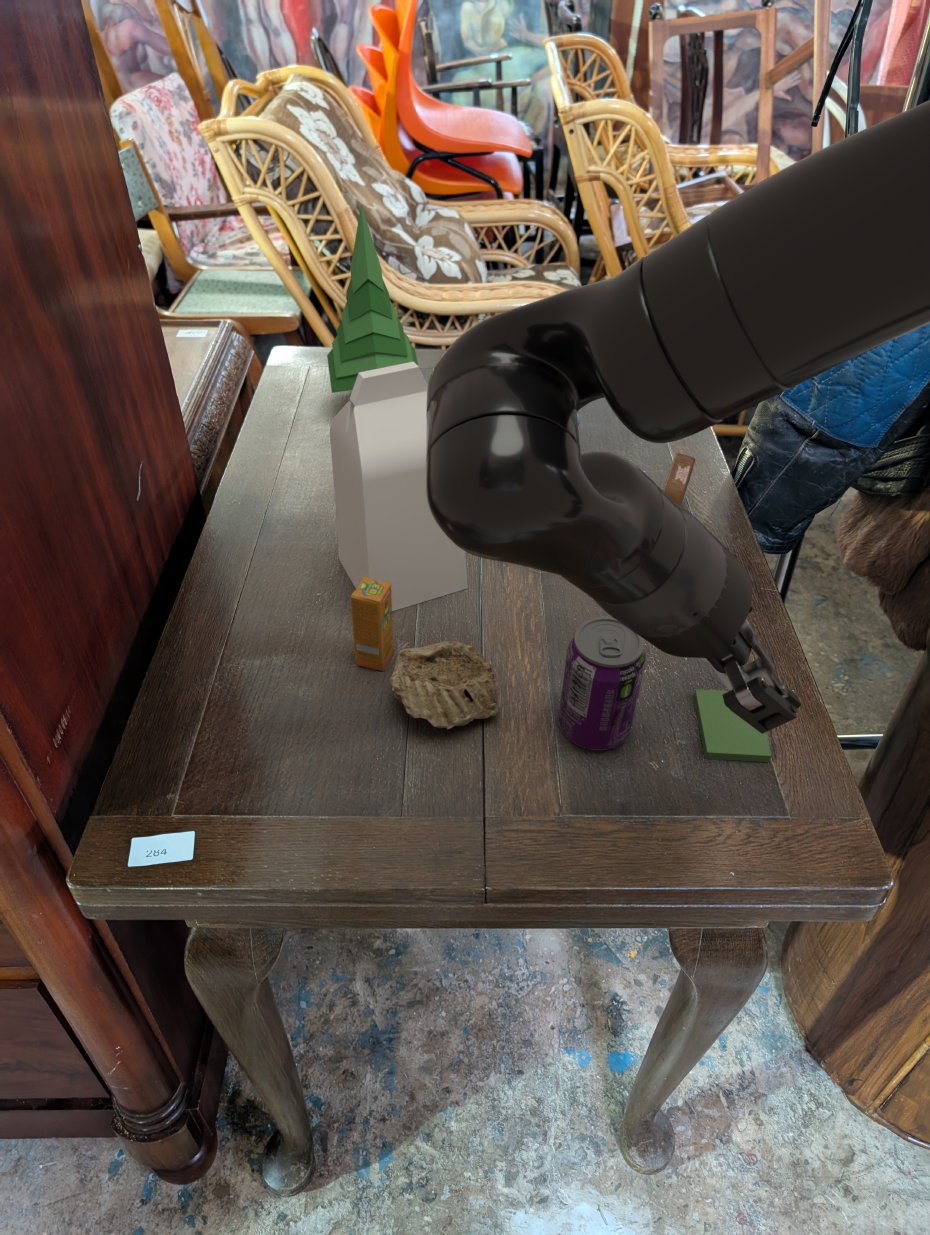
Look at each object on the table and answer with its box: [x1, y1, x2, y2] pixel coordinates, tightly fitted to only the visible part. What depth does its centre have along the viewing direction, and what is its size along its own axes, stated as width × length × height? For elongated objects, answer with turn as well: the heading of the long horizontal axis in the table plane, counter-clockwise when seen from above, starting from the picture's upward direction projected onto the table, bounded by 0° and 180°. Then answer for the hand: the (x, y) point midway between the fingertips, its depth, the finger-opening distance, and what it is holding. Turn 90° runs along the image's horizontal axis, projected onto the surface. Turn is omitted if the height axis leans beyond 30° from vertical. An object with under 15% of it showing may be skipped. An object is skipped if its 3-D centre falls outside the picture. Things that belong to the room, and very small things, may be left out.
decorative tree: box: [326, 203, 419, 394], centre depth 115 cm, size 14×16×30 cm
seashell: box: [389, 640, 499, 730], centre depth 79 cm, size 11×7×10 cm
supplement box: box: [350, 577, 394, 672], centre depth 82 cm, size 3×3×10 cm
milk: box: [329, 362, 469, 612], centre depth 87 cm, size 12×12×26 cm
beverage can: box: [558, 615, 647, 751], centre depth 74 cm, size 7×7×12 cm
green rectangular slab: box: [693, 689, 772, 763], centre depth 78 cm, size 8×6×1 cm
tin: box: [662, 451, 696, 507], centre depth 100 cm, size 15×3×8 cm, turn 159°
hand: (762, 658), depth 59 cm, fingers open, 8 cm apart
